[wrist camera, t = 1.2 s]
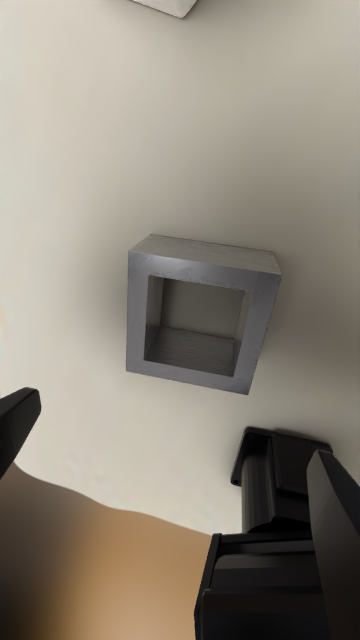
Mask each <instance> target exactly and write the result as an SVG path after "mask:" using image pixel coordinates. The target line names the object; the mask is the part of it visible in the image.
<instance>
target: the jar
mask: <svg viewBox="0 0 360 640" xmlns="http://www.w3.org/2000/svg"><path fill="white" fill-rule="evenodd" d="M133 1H135V2H138V3H141V4H144V5H146V6H149V7H152V8H154V9H157V10H160V11H163V12H165V13H168V14H171V15H173V16H176V17H179V18H183V17H184V16H185V15H186V14H187V13H188V12H189V10H190V9H191V8H192V6H193V5H194V4H195V2H196V1H197V0H133Z"/></svg>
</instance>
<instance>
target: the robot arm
mask: <svg viewBox="0 0 360 640" xmlns="http://www.w3.org/2000/svg"><path fill="white" fill-rule="evenodd" d="M40 412H41V401H40V395H39V391H38V390H37V389H34V388H29V387H25V388H22V389H20V390H18V391H16V392H14V393H12V394H10V395H8V396H5V397H3V398H1V399H0V480H1V478H2V477H3V475H4V474H5V472H6V471H7V469H8V468H9V467H10V465H11V464H12V462H13V461H14V459H15V458H16V456H17V454H18V453H19V451H20V449H21V447H22V446H23V444H24V442H25V440H26V438H27V437H28V435H29V433H30V431H31V429H32V428H33V426H34V424H35V422H36V420H37V419H38V417H39V415H40ZM231 483H232V484H233V485H235V486H240V487H242V533H239V534H225V535H222V533H216V534H213V536H212V540H211V544H210V548H209V552H208V556H207V560H206V564H205V568H204V572H203V577H202V581H201V585H200V589H199V594H198V597H197V601H196V605H195V609H194V620H195V636H196V640H360V486H359V485H358V484H357V483H356V481H355V480H354V479H353V478H352V477H351V475H350V474H349V473H348V472H347V471H346V469H345V468H344V467H343V466H342V465H341V463H340V462H339V461H338V460H337V459H336V457H335V456H334V455H333V450H332V448H331V446H330V445H328V444H325V443H320V442H315V441H311V440H306V439H301V438H296V437H291V436H287V435H282V434H277V433H272V432H268V431H263V430H258V429H253V428H247V429H245V431H244V433H243V436H242V440H241V443H240V446H239V450H238V453H237V456H236V460H235V463H234V467H233V470H232V473H231Z"/></svg>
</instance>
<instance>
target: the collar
mask: <svg viewBox="0 0 360 640" xmlns="http://www.w3.org/2000/svg"><path fill="white" fill-rule="evenodd" d="M281 276H282V274H281V271H280V269H279V267H278V264H277V262H276V259H275V257H274V255H273V252H268V251H261V250H254V249H247V248H241V247H234V246H227V245H220V244H213V243H207V242H200V241H193V240H186V239H179V238H172V237H166V236H159V235H152V234H151V235H149V236H148V237H147V238H145V239H144V240H143V241H141V242H140V243H139V244H137V245H136V246H135V247H134V248H132V249H131V250H130V251H129V255H128V300H127V345H126V371H128V372H133V373H138V374H143V375H148V376H153V377H158V378H163V379H168V380H173V381H178V382H183V383H189V384H194V385H199V386H204V387H209V388H214V389H219V390H224V391H229V392H234V393H239V394H244V395H248V393H249V390H250V386H251V383H252V379H253V375H254V372H255V368H256V365H257V361H258V358H259V354H260V351H261V347H262V344H263V340H264V337H265V333H266V329H267V326H268V322H269V319H270V315H271V312H272V308H273V305H274V301H275V298H276V294H277V291H278V287H279V284H280V280H281ZM164 278H170V279H176V280H182V281H188V282H194V283H200V284H207V285H213V286H219V287H225V288H231V289H238V290H244V291H245V293H244V298H243V302H242V307H241V311H240V315H239V320H238V324H237V329H236V333H235V338H234V340H233V339H227V338H222V337H216V336H211V335H205V334H200V333H194V332H188V331H183V330H177V329H172V328H166V327H160V321H161V310H162V298H163V286H164Z"/></svg>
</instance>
